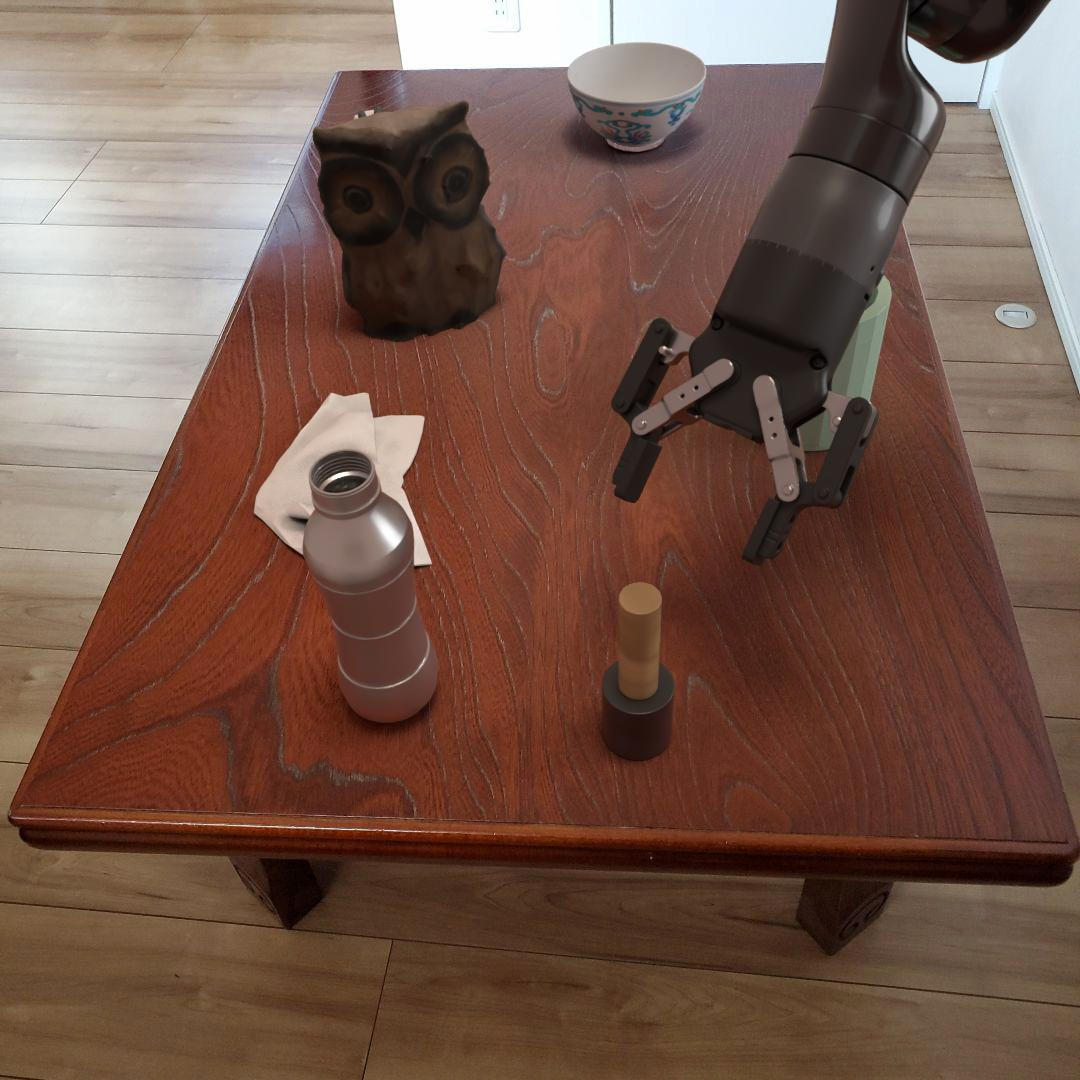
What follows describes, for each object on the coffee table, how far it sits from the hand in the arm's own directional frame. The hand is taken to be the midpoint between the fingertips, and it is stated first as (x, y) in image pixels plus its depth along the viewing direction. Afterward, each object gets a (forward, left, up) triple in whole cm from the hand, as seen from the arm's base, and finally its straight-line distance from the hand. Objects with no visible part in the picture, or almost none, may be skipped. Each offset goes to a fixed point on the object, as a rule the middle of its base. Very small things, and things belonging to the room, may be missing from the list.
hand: (686, 530), depth 64 cm
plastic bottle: (+16, -9, -15) cm, 24 cm away
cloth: (+12, -28, -15) cm, 34 cm away
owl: (-6, -49, -15) cm, 52 cm away
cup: (-25, -17, -14) cm, 33 cm away
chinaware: (-40, -65, -13) cm, 77 cm away
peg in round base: (+4, +2, -14) cm, 15 cm away
